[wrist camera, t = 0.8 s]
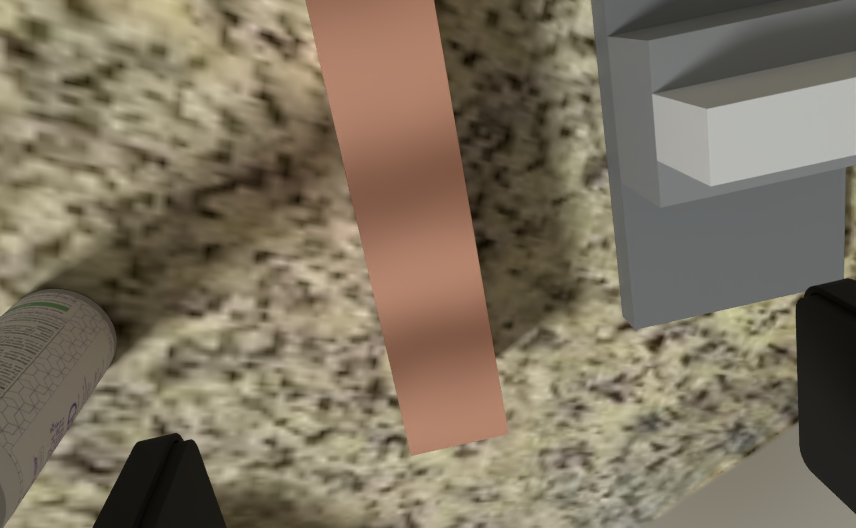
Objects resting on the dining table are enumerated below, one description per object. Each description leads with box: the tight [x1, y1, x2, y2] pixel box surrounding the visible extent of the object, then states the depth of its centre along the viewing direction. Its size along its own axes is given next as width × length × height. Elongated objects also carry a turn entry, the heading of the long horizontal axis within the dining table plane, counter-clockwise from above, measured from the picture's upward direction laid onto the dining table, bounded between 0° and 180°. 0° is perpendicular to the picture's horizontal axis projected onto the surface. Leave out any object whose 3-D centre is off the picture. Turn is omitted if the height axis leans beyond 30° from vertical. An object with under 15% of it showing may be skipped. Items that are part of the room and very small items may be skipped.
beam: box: [305, 0, 508, 456], centre depth 27 cm, size 22×4×6 cm, turn 10°
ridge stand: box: [591, 0, 856, 330], centre depth 26 cm, size 20×10×10 cm, turn 11°
